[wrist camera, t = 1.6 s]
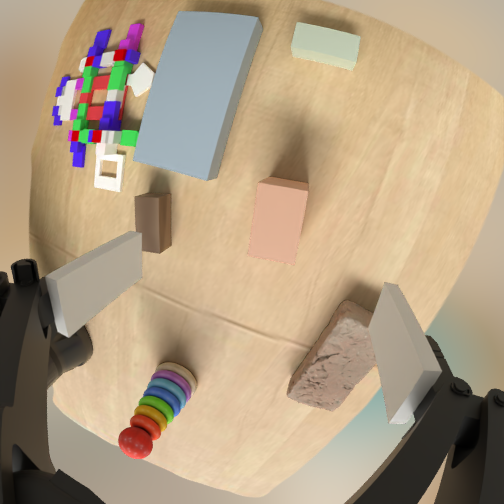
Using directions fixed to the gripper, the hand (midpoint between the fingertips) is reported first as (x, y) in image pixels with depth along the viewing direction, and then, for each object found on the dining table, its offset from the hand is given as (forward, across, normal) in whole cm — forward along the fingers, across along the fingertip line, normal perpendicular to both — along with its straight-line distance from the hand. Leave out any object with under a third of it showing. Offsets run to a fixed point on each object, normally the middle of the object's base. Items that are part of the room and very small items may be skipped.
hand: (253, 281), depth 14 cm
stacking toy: (+20, -13, -32) cm, 40 cm away
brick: (+21, +11, -19) cm, 30 cm away
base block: (+21, -12, +13) cm, 27 cm away
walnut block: (+20, -16, -4) cm, 26 cm away
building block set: (+21, -29, +12) cm, 38 cm away
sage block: (+20, +2, +20) cm, 29 cm away
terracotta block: (+20, 0, 0) cm, 20 cm away
